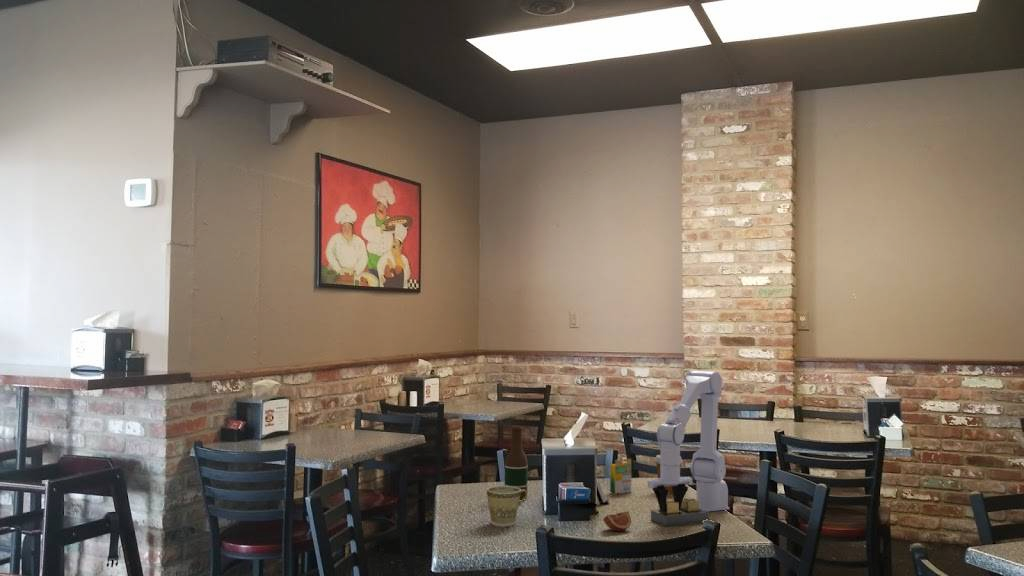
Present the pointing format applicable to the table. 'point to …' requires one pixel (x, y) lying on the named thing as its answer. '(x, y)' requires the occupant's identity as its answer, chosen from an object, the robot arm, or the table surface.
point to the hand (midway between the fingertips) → (669, 510)
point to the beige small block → (671, 507)
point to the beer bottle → (516, 463)
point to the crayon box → (620, 476)
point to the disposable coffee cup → (659, 471)
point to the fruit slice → (618, 521)
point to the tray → (681, 514)
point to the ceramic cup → (504, 504)
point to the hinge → (601, 495)
